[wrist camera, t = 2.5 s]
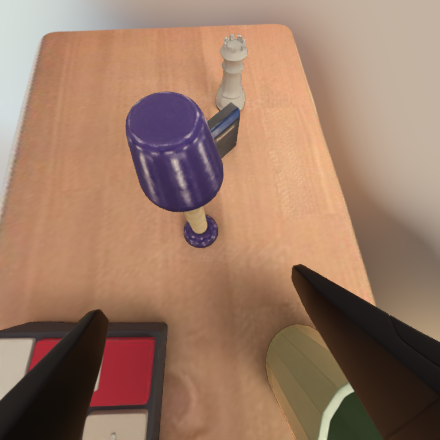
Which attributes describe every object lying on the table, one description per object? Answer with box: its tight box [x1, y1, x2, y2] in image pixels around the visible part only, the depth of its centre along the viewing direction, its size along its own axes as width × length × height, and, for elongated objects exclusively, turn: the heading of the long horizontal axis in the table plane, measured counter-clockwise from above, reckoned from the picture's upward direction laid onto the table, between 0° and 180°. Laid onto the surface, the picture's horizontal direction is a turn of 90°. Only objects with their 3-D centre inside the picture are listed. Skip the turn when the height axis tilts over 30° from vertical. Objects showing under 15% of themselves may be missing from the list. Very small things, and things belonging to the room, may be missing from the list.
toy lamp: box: [126, 92, 223, 248], centre depth 15 cm, size 5×5×17 cm
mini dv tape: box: [207, 102, 240, 158], centre depth 22 cm, size 8×2×6 cm, turn 137°
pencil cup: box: [266, 324, 383, 440], centre depth 14 cm, size 8×8×10 cm
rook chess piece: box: [216, 34, 248, 110], centre depth 24 cm, size 4×4×8 cm
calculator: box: [0, 322, 167, 440], centre depth 16 cm, size 11×4×15 cm
